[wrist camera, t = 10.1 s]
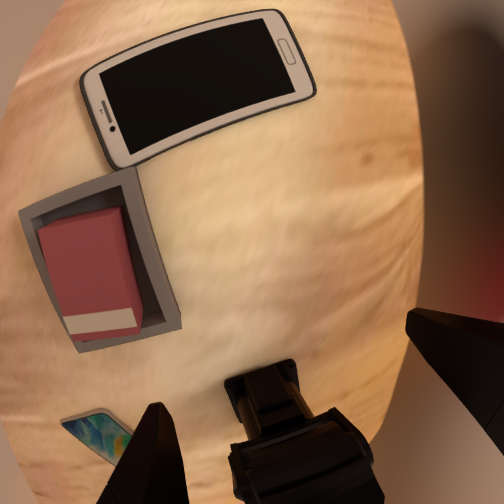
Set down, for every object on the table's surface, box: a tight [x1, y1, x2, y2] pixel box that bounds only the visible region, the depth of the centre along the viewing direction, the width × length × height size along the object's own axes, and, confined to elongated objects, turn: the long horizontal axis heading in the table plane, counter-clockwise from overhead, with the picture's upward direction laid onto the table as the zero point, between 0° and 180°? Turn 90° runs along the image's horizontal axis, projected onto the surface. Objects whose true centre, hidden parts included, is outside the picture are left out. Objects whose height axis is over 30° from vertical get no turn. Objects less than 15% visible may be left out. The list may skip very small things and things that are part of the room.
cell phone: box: [79, 9, 317, 171], centre depth 15 cm, size 8×15×1 cm, turn 112°
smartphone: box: [61, 408, 134, 467], centre depth 23 cm, size 7×1×15 cm
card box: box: [38, 205, 144, 342], centre depth 15 cm, size 7×4×4 cm, turn 4°
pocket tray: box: [18, 166, 182, 353], centre depth 16 cm, size 11×8×2 cm
